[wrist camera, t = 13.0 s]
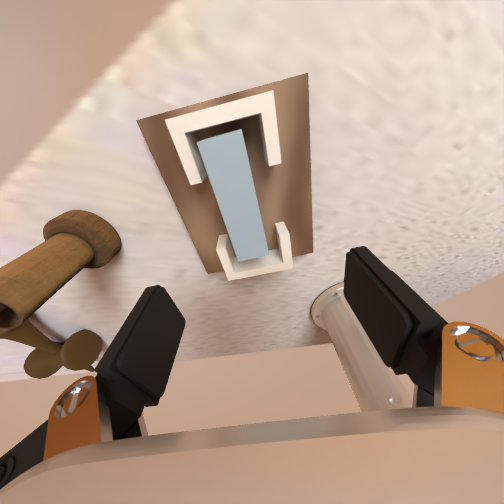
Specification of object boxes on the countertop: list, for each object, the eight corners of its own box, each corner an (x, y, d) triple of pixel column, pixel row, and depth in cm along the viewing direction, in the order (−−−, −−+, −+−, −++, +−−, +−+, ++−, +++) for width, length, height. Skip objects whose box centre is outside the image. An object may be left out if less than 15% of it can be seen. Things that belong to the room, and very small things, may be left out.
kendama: (20, 279, 26) (123, 349, 37) (-23, 298, 28) (86, 359, 38) (-34, 314, 21) (103, 384, 32) (-82, 334, 23) (62, 393, 33)
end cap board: (302, 77, 15) (308, 72, 14) (309, 246, 25) (313, 252, 23) (144, 120, 16) (136, 120, 15) (209, 266, 26) (207, 273, 25)
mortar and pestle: (44, 218, 21) (-445, 450, 6) (94, 202, 20) (-317, 420, 5) (89, 262, 24) (-145, 474, 10) (132, 251, 24) (-46, 458, 9)
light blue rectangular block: (241, 128, 16) (241, 129, 12) (263, 229, 21) (269, 255, 17) (207, 137, 16) (196, 142, 12) (238, 235, 22) (238, 261, 17)
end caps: (267, 96, 15) (273, 90, 12) (287, 253, 23) (293, 268, 21) (177, 120, 15) (164, 119, 13) (229, 264, 24) (228, 281, 21)
